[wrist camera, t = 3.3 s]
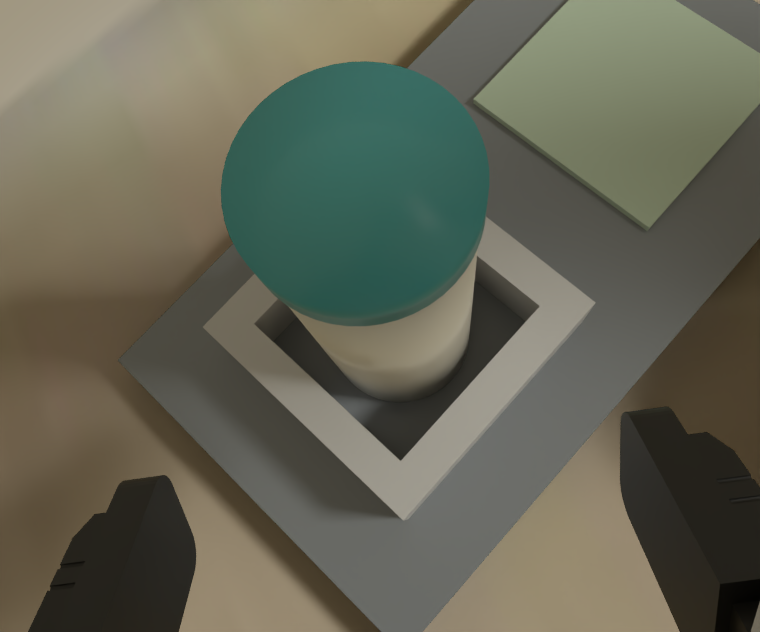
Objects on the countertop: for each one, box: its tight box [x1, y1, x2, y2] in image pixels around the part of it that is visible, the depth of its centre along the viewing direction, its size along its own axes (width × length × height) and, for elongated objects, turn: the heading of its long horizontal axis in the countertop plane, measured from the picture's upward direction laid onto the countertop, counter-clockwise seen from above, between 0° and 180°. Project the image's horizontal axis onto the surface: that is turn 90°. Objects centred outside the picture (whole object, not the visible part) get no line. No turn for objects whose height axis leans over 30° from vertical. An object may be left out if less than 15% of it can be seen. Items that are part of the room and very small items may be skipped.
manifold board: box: [118, 0, 760, 632], centre depth 25 cm, size 26×14×4 cm, turn 137°
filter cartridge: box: [221, 62, 489, 402], centre depth 19 cm, size 5×5×12 cm
